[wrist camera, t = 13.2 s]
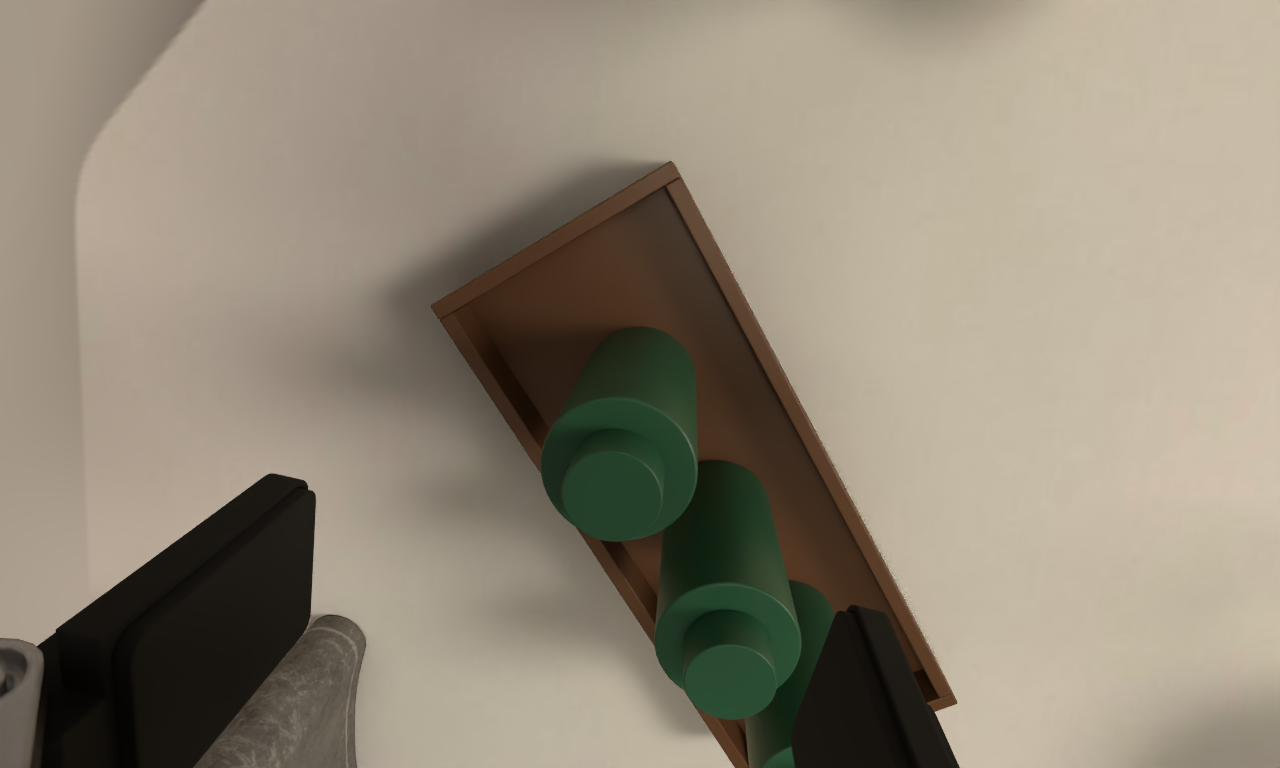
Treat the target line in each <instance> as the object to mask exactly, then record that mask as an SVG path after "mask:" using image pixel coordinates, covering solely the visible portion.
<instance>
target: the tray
mask: <svg viewBox="0 0 1280 768" xmlns="http://www.w3.org/2000/svg"><path fill="white" fill-rule="evenodd" d="M431 308H432V310H433V311H434V313H435V314H436V316H437V317H438V319H440V322H441V323H442V325H443V326H444V328H445V329H446V331H447V332H448V334H449V335H450V337H451V338H452V340H453V341H454V343H455V344H456V346H457V347H458V349H459V350H460V352H461V353H462V355H463V357H464V358H465V360H466V361H467V363H468V364H469V366H470V367H471V369H472V370H473V372H474V373H475V375H476V376H477V378H478V379H479V381H480V382H481V384H482V385H483V387H484V388H485V390H486V391H487V393H488V394H489V396H490V397H491V399H492V400H493V402H494V403H495V405H496V406H497V408H498V410H499V411H500V413H501V414H502V416H503V417H504V419H505V420H506V422H507V423H508V425H509V426H510V428H511V429H512V431H513V432H514V434H515V435H516V437H517V438H518V440H519V441H520V443H521V444H522V446H523V447H524V449H525V450H526V452H527V453H528V455H529V456H530V458H531V459H532V461H533V463H534V464H535V466H536V467H537V469H538V470H539V472H540V473H541V468H540V464H541V453H542V448H543V445H544V442H545V439H546V437H547V435H548V433H549V431H550V429H551V427H552V426H553V424H554V422H555V420H556V418H557V417H558V415H559V413H560V411H561V410H562V408H563V406H564V404H565V403H566V401H567V399H568V397H569V395H570V394H571V392H572V390H573V388H574V387H575V385H576V383H577V381H578V380H579V378H580V376H581V374H582V372H583V371H584V369H585V367H586V365H587V364H588V362H589V360H590V358H591V357H592V355H593V353H594V351H595V350H596V349H597V347H598V346H599V345H600V344H601V343H602V342H603V341H604V340H605V339H606V338H607V337H609V336H610V335H612V334H613V333H616V332H618V331H620V330H623V329H626V328H631V327H650V328H654V329H658V330H661V331H663V332H665V333H667V334H669V335H671V336H672V337H674V338H675V339H676V340H677V341H679V342H680V343H681V344H682V345H683V347H684V348H685V349H686V350H687V352H688V353H689V355H690V357H691V359H692V361H693V364H694V367H695V372H696V395H697V448H698V464H699V463H703V462H708V461H727V462H731V463H735V464H738V465H740V466H742V467H744V468H746V469H748V470H749V471H751V472H752V473H753V474H754V475H755V476H756V477H757V478H758V479H759V480H760V481H761V483H762V484H763V486H764V487H765V489H766V492H767V495H768V498H769V502H770V506H771V510H772V515H773V519H774V523H775V527H776V531H777V536H778V540H779V544H780V548H781V552H782V557H783V561H784V565H785V569H786V573H787V578H788V581H796V582H800V583H803V584H806V585H809V586H811V587H813V588H814V589H816V590H818V591H819V592H820V593H821V594H823V595H824V596H825V598H826V599H827V600H828V601H829V603H830V604H831V606H832V608H833V611H834V614H835V615H836V613H837V612H838V611H840V610H841V611H846V610H847V608H848V607H849V606H850V605H858V606H862V607H867V608H871V609H875V610H880V611H883V612H885V613H886V614H887V615H888V617H889V619H890V621H891V624H892V626H893V628H894V630H895V633H896V635H897V637H898V640H899V642H900V644H901V646H902V649H903V651H904V653H905V655H906V658H907V660H908V662H909V664H910V667H911V669H912V671H913V674H914V676H915V678H916V680H917V683H918V685H919V687H920V689H921V692H922V694H923V696H924V699H925V701H926V703H928V704H929V705H930V706H931V707H932V709H933V711H934V712H935V711H938V710H941V709H944V708H946V707H949V706H952V705H955V704H957V700H956V698H955V696H954V694H953V692H952V690H951V688H950V686H949V684H948V682H947V680H946V678H945V676H944V674H943V672H942V670H941V668H940V666H939V664H938V663H937V661H936V659H935V657H934V655H933V653H932V651H931V649H930V647H929V645H928V644H927V642H926V640H925V638H924V636H923V634H922V632H921V630H920V628H919V626H918V625H917V623H916V621H915V619H914V617H913V615H912V613H911V611H910V609H909V608H908V606H907V604H906V602H905V600H904V598H903V596H902V594H901V592H900V590H899V589H898V587H897V585H896V583H895V581H894V579H893V577H892V575H891V573H890V572H889V570H888V568H887V566H886V564H885V562H884V560H883V558H882V556H881V554H880V553H879V551H878V549H877V547H876V545H875V543H874V541H873V539H872V537H871V535H870V534H869V532H868V530H867V528H866V526H865V524H864V522H863V520H862V518H861V517H860V515H859V513H858V511H857V509H856V507H855V505H854V503H853V501H852V499H851V498H850V496H849V494H848V492H847V490H846V488H845V486H844V484H843V482H842V481H841V479H840V477H839V475H838V473H837V471H836V469H835V467H834V465H833V463H832V462H831V460H830V458H829V456H828V454H827V452H826V450H825V448H824V446H823V445H822V443H821V441H820V439H819V437H818V435H817V433H816V431H815V429H814V427H813V426H812V424H811V422H810V420H809V418H808V416H807V414H806V412H805V410H804V408H803V407H802V405H801V403H800V401H799V399H798V397H797V395H796V393H795V391H794V390H793V388H792V386H791V384H790V382H789V380H788V378H787V376H786V374H785V372H784V371H783V369H782V367H781V365H780V363H779V361H778V359H777V357H776V355H775V354H774V352H773V350H772V348H771V346H770V344H769V342H768V340H767V338H766V336H765V335H764V333H763V331H762V329H761V327H760V325H759V323H758V321H757V319H756V317H755V316H754V314H753V312H752V310H751V308H750V306H749V304H748V302H747V300H746V299H745V297H744V295H743V293H742V291H741V289H740V287H739V285H738V283H737V281H736V280H735V278H734V276H733V274H732V272H731V270H730V268H729V266H728V264H727V263H726V261H725V259H724V257H723V255H722V253H721V251H720V249H719V247H718V245H717V244H716V242H715V240H714V238H713V236H712V234H711V232H710V230H709V228H708V226H707V225H706V223H705V221H704V219H703V217H702V215H701V213H700V211H699V209H698V208H697V206H696V204H695V202H694V200H693V198H692V196H691V194H690V192H689V190H688V189H687V187H686V185H685V183H684V181H683V179H682V177H681V175H680V173H679V172H678V170H677V168H676V166H675V164H674V163H673V162H672V161H670V162H668V163H666V164H665V165H663V166H661V167H660V168H658V169H656V170H655V171H653V172H651V173H650V174H648V175H646V176H645V177H643V178H641V179H640V180H638V181H636V182H635V183H633V184H631V185H630V186H628V187H626V188H625V189H623V190H622V191H620V192H618V193H617V194H615V195H613V196H612V197H610V198H608V199H607V200H605V201H603V202H602V203H600V204H598V205H597V206H595V207H593V208H592V209H590V210H588V211H587V212H585V213H583V214H582V215H580V216H578V217H577V218H575V219H573V220H572V221H570V222H569V223H567V224H565V225H564V226H562V227H560V228H559V229H557V230H555V231H554V232H552V233H550V234H549V235H547V236H545V237H544V238H542V239H540V240H539V241H537V242H535V243H534V244H532V245H530V246H529V247H527V248H525V249H524V250H522V251H521V252H519V253H517V254H516V255H514V256H512V257H511V258H509V259H507V260H506V261H504V262H502V263H501V264H499V265H497V266H496V267H494V268H492V269H491V270H489V271H487V272H486V273H484V274H482V275H481V276H479V277H477V278H476V279H474V280H472V281H471V282H469V283H468V284H466V285H464V286H463V287H461V288H459V289H458V290H456V291H454V292H453V293H451V294H449V295H448V296H446V297H444V298H443V299H441V300H439V301H438V302H436V303H434V304H433V305H431ZM576 528H577V527H576ZM577 529H578V531H579V532H580V534H581V535H582V537H583V538H584V540H585V541H586V543H587V544H588V546H589V547H590V549H591V550H592V552H593V553H594V555H595V556H596V558H597V559H598V561H599V562H600V564H601V566H602V567H603V569H604V570H605V572H606V573H607V575H608V576H609V578H610V579H611V581H612V582H613V584H614V585H615V587H616V588H617V590H618V591H619V593H620V594H621V596H622V597H623V599H624V600H625V602H626V603H627V605H628V606H629V608H630V609H631V611H632V612H633V614H634V615H635V617H636V619H637V620H638V622H639V623H640V625H641V626H642V628H643V629H644V631H645V632H646V634H647V635H648V637H649V638H650V640H651V641H652V643H653V644H654V636H655V624H656V612H657V600H658V587H659V575H660V563H661V551H662V539H663V530H661V531H659V532H658V533H655V534H653V535H650V536H647V537H644V538H640V539H633V540H626V541H619V542H611V541H604V540H599V539H596V538H593V537H591V536H589V535H587V534H586V533H584V532H582V531H581V530H580V529H579V528H577ZM654 646H655V644H654ZM684 691H685V690H684ZM685 693H686V691H685ZM693 705H694V704H693ZM694 706H695V705H694ZM695 708H696V709H697V711H698V712H699V714H700V715H701V717H702V718H703V720H704V721H705V723H706V725H707V726H708V728H709V729H710V731H711V732H712V734H713V735H714V737H715V738H716V740H717V741H718V743H719V744H720V746H721V747H722V749H723V750H724V752H725V753H726V755H727V756H728V758H729V759H730V761H731V762H732V764H733V765H734V767H735V768H749V760H748V749H747V739H746V728H745V718H743V719H735V720H729V719H721V718H716V717H713V716H710V715H708V714H706V713H704V712H703V711H701V710H700V709H698V708H697V707H696V706H695Z"/></svg>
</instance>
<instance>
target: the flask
mask: <svg viewBox="0 0 1280 768" xmlns="http://www.w3.org/2000/svg"><path fill="white" fill-rule="evenodd" d="M365 646H366V644H365V638H364V635H363V634H362V632H361V630H360V629H359V628H358V627H357V626H356V625H355V624H354V623H352V622H351V621H349V620H347V619H345V618H343V617H339V616H325V617H321V618H319V619H318V620H316V621H315V622H314V623H313V624H312V625H311V627H310V628H309V629H308V630H307V631H306V633H305V634H304V635H303V636H302V637H301V638H300V640H299V641H298V642H297V643H296V644H295V645H294V647H293V648H292V649H291V650H290V651H289V653H288V654H287V655H286V656H285V657H284V658H283V660H282V661H281V662H280V663H279V664H278V666H277V667H276V668H275V669H274V670H273V671H272V673H271V674H270V675H269V676H268V677H267V679H266V680H265V681H264V682H263V684H262V685H261V686H260V687H259V688H258V690H257V691H256V692H255V693H254V694H253V696H252V697H251V698H250V699H249V701H248V702H247V703H246V704H245V705H244V707H243V708H242V709H241V710H240V711H239V713H238V714H237V715H236V716H235V718H234V719H233V720H232V721H231V722H230V724H229V725H228V726H227V727H226V728H225V730H224V731H223V732H222V733H221V735H220V736H219V737H218V738H217V739H216V741H215V742H214V743H213V744H212V745H211V747H210V748H209V749H208V750H207V752H206V753H205V754H204V755H203V756H202V758H201V759H200V760H199V761H198V762H197V764H196V765H195V766H194V767H193V768H356V759H355V742H354V715H355V699H356V690H357V683H358V676H359V671H360V667H361V662H362V658H363V655H364V651H365Z"/></svg>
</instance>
